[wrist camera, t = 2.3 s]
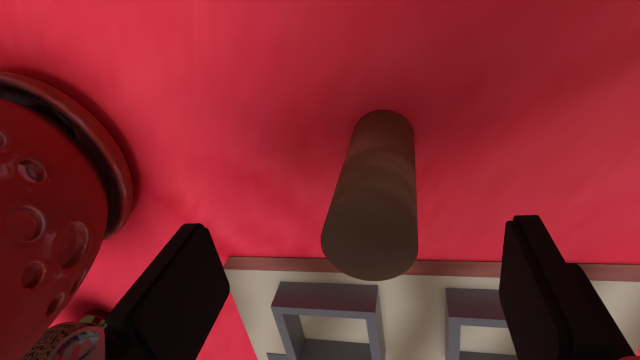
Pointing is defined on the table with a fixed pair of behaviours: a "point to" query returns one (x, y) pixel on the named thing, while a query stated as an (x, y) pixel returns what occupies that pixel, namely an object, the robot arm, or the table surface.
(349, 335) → the board
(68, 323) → the cup
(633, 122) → the table surface
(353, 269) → the walnut pin
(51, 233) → the plant pot
